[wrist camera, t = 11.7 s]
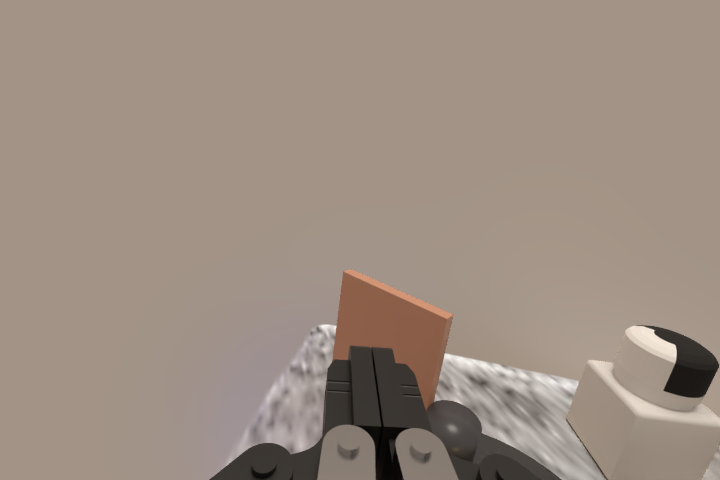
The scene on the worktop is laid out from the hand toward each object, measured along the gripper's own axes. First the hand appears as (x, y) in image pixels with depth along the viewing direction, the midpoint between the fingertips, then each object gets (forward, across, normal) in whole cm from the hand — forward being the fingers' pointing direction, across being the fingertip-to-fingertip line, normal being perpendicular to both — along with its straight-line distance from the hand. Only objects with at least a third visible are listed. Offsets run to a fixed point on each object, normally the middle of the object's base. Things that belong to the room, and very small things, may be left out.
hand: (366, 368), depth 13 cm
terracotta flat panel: (+14, -5, +15) cm, 21 cm away
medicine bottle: (+13, -27, +18) cm, 34 cm away
